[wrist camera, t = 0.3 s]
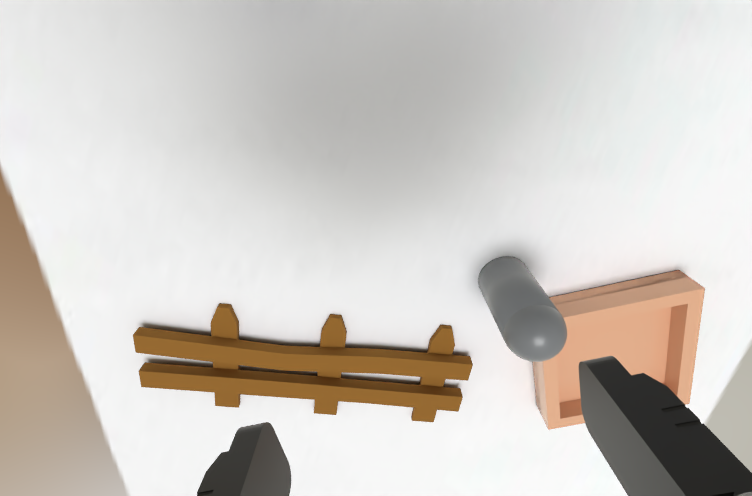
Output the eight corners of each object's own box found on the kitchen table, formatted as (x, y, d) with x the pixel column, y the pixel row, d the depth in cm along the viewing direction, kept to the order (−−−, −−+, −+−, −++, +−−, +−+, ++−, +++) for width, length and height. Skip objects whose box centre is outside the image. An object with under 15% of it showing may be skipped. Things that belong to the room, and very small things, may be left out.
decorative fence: (447, 414, 36) (474, 323, 32) (451, 432, 35) (480, 339, 30) (156, 391, 34) (142, 291, 30) (145, 410, 33) (128, 307, 28)
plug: (475, 262, 29) (510, 331, 22) (526, 251, 29) (577, 317, 22) (481, 304, 30) (516, 380, 23) (529, 293, 30) (579, 368, 23)
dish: (526, 302, 30) (539, 322, 28) (678, 269, 29) (704, 288, 27) (536, 405, 35) (548, 429, 33) (668, 380, 34) (689, 403, 32)
